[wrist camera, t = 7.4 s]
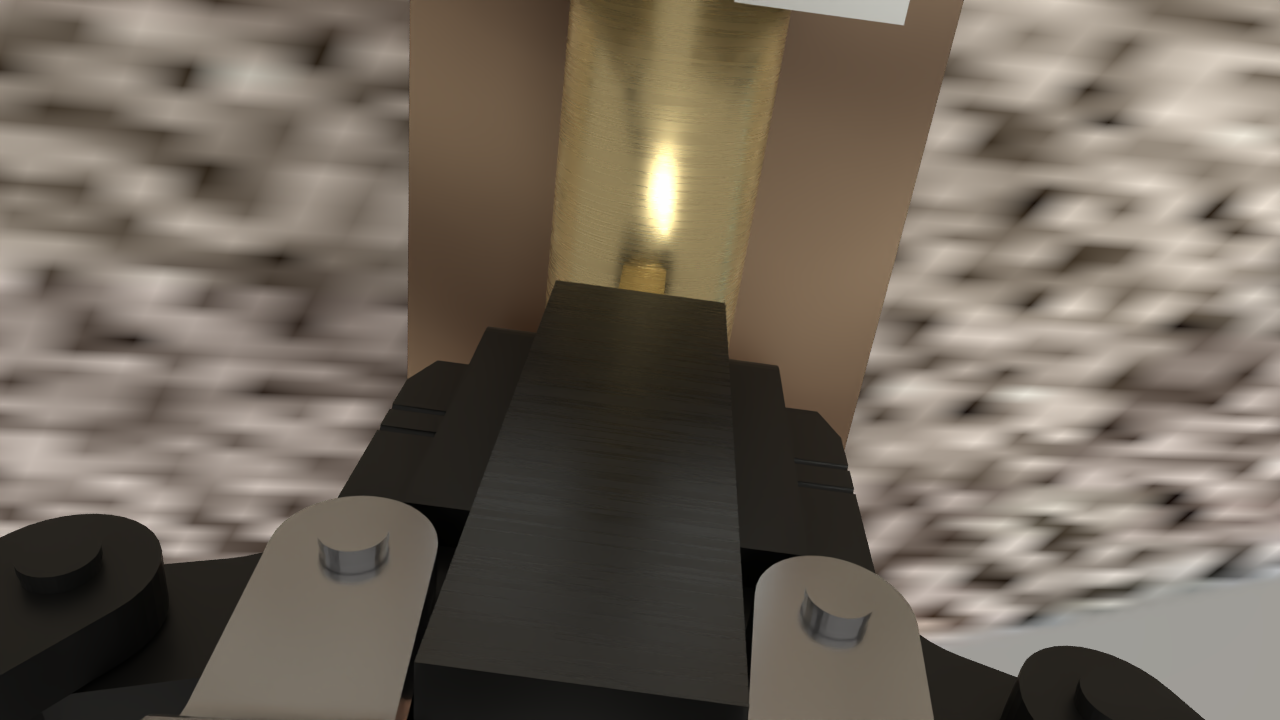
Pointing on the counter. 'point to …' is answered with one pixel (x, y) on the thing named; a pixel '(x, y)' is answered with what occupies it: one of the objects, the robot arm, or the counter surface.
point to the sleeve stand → (786, 199)
